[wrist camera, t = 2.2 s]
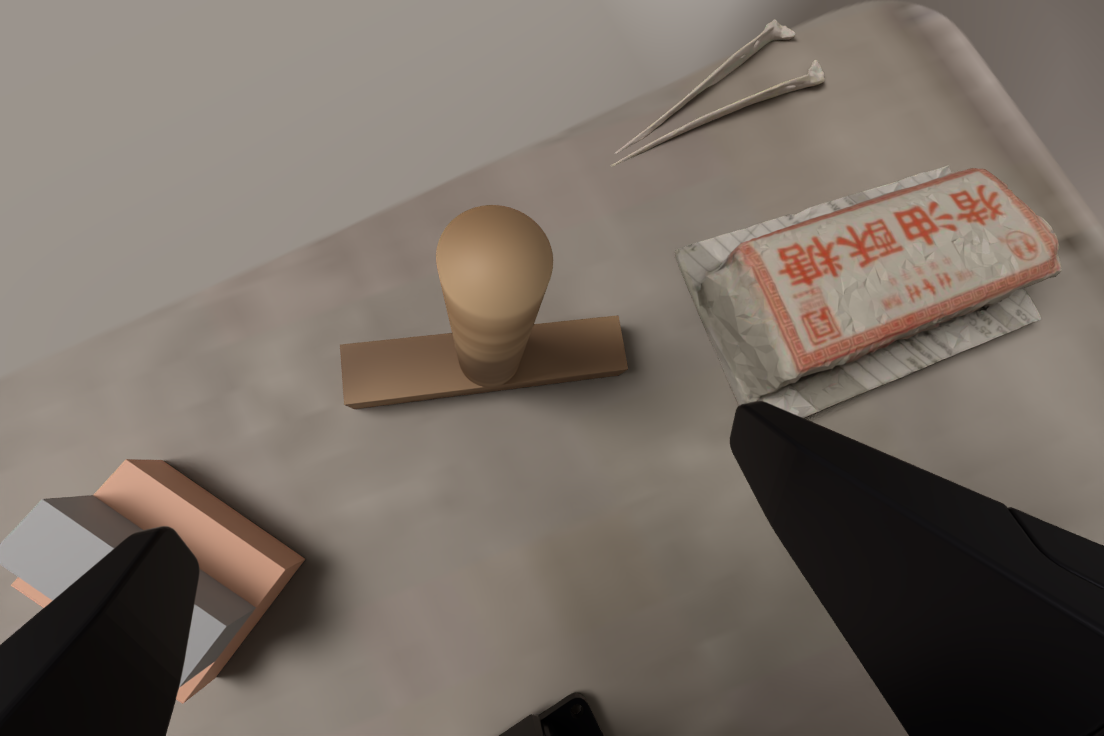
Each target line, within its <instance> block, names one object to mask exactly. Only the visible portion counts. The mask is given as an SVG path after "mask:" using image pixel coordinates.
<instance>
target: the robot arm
mask: <svg viewBox="0 0 1104 736" xmlns="http://www.w3.org/2000/svg"><path fill="white" fill-rule="evenodd" d="M730 447H731V450H732V453H733V455H734V457H735V458H736V460H737V462H738V464H739V466H740V468H741V470H742V472H743V474H744V476H745V478H746V480H747V481H748V483H749V485H750V487H751V489H752V491H753V493H754V495H755V497H756V499H757V501H758V503H759V504H760V506H761V508H762V510H763V512H764V514H765V516H766V518H767V519H768V521H769V523H770V525H771V526H772V528H773V530H774V531H775V533H776V534H777V536H778V538H779V539H780V541H781V542H782V544H783V545H784V547H785V548H786V550H787V551H788V553H789V554H790V556H791V557H792V559H793V560H794V562H795V563H796V565H797V566H798V568H799V569H800V571H801V573H802V574H803V576H804V577H805V579H806V580H807V582H808V583H809V585H810V586H811V588H812V589H813V591H814V592H815V594H816V595H817V597H818V598H819V600H820V601H821V603H822V604H823V606H824V607H825V609H826V610H827V612H828V613H829V615H830V616H831V618H832V619H833V621H834V623H835V624H836V626H837V627H838V629H839V630H840V632H841V633H842V635H843V636H844V638H845V639H846V641H847V642H848V644H849V645H850V647H851V648H852V650H853V651H854V653H855V654H856V656H857V657H858V659H859V660H860V662H861V663H862V665H863V666H864V668H865V670H866V671H867V673H868V674H869V676H870V677H871V679H872V680H873V682H874V683H875V685H876V686H877V688H878V689H879V691H880V692H881V694H882V695H883V697H884V698H885V700H886V701H887V703H888V704H889V706H890V707H891V709H892V710H893V712H894V713H895V715H896V717H897V718H898V720H899V721H900V723H901V724H902V726H903V727H904V729H905V730H906V732H907V733H908V735H909V736H1104V546H1103V545H1101V544H1098V543H1095V542H1093V541H1091V540H1088V539H1086V538H1083V537H1081V536H1079V535H1076V534H1074V533H1071V532H1069V531H1067V530H1064V529H1062V528H1059V527H1057V526H1054V525H1052V524H1050V523H1047V522H1045V521H1042V520H1040V519H1038V518H1036V517H1033V516H1031V515H1029V514H1026V513H1024V512H1022V511H1019V510H1017V509H1015V508H1012V507H1009V508H1007V507H1006V505H1004V504H1003V503H1000V502H998V501H996V500H993V499H991V498H989V497H986V496H984V495H982V494H979V493H977V492H975V491H972V490H970V489H968V488H965V487H963V486H961V485H958V484H956V483H954V482H951V481H949V480H947V479H944V478H942V477H940V476H937V475H935V474H933V473H930V472H928V471H926V470H923V469H921V468H919V467H916V466H914V465H912V464H909V463H907V462H905V461H902V460H900V459H898V458H895V457H893V456H891V455H888V454H886V453H884V452H881V451H879V450H877V449H874V448H872V447H870V446H867V445H865V444H863V443H860V442H858V441H856V440H853V439H851V438H849V437H846V436H844V435H842V434H839V433H837V432H835V431H832V430H830V429H828V428H825V427H823V426H821V425H818V424H816V423H814V422H811V421H809V420H807V419H804V418H802V417H800V416H797V415H795V414H793V413H790V412H788V411H786V410H783V409H781V408H779V407H776V406H774V405H772V404H769V403H767V402H764V401H754V402H749V403H744V404H741V405H739V406H738V408H737V409H736V412H735V417H734V421H733V426H732V431H731V435H730ZM199 574H200V568H199V563H198V560H197V558H196V557H195V555H194V554H193V553H192V551H191V550H190V549H189V548H188V546H187V545H186V544H185V542H184V541H183V540H182V539H181V537H180V536H179V535H178V533H177V532H176V531H175V530H174V529H173V528H171V527H168V526H161V527H156V528H151V529H146V530H142V531H138V532H135V533H133V534H131V535H130V536H128V537H127V538H126V539H125V540H124V541H122V542H121V543H120V544H119V545H118V546H116V547H115V548H114V549H113V550H112V551H111V552H109V553H108V554H107V555H106V556H105V557H103V558H102V559H101V560H100V561H99V562H98V563H96V564H95V565H94V566H93V567H92V568H90V569H89V570H88V571H87V572H86V573H85V574H83V575H82V576H81V577H80V578H79V579H78V580H76V581H75V582H74V583H73V584H72V585H70V586H69V587H68V588H67V589H66V590H65V591H63V592H62V593H61V594H60V595H59V596H57V597H56V598H55V599H54V600H53V601H52V602H50V603H49V604H48V605H47V606H46V607H44V608H43V609H42V610H41V611H40V612H39V613H37V614H36V615H35V616H34V617H33V618H32V619H30V620H29V621H28V622H27V623H26V624H24V625H23V626H22V627H21V628H20V629H19V630H17V631H16V632H15V633H14V634H13V635H11V636H10V637H9V638H8V639H7V640H6V641H4V642H3V643H2V644H1V645H0V736H166V733H167V729H168V726H169V722H170V719H171V715H172V712H173V708H174V705H175V701H176V697H177V693H178V690H179V686H180V682H181V677H182V672H183V667H184V662H185V656H186V651H187V645H188V639H189V633H190V627H191V622H192V616H193V610H194V604H195V598H196V593H197V587H198V581H199ZM576 704H578V705H581V710H580V711H579V712H578V713H576V714H574V713H571V708H572V707H573V706H574V705H576ZM500 736H604V735H603V733H602V731H601V729H600V727H599V725H598V723H597V721H596V719H595V717H594V715H593V713H592V711H591V709H590V707H589V705H588V703H587V701H586V699H585V698H584V696H583V695H581V694H579V693H573V694H570V695H568V696H567V697H565V698H564V699H562V700H561V701H559V702H558V703H557V704H555V705H554V706H552V707H551V708H549V709H548V710H546V711H545V712H543V713H542V714H540V715H539V716H537V715H529V716H528V717H526V718H525V719H523V720H522V721H520V722H519V723H517V724H516V725H514V726H513V727H511V728H510V729H508V730H507V731H505V732H504V733H503V734H501V735H500Z"/></svg>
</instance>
